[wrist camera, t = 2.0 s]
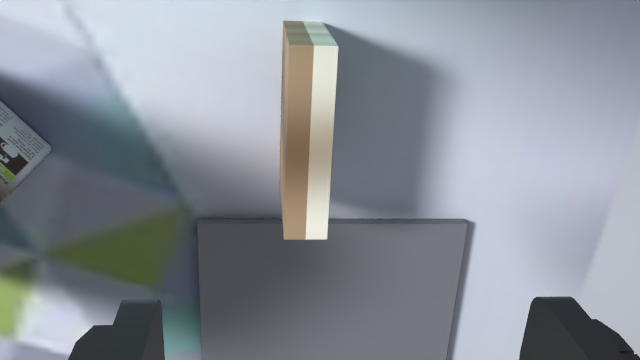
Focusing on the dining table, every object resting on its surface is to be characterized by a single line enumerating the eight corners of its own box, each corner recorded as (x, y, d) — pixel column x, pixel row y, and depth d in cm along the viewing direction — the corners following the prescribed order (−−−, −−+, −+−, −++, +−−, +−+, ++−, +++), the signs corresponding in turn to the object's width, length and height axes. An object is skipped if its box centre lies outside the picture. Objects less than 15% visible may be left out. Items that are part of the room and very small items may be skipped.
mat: (198, 218, 31) (197, 224, 30) (464, 219, 32) (467, 224, 31) (206, 452, 37) (205, 460, 36) (428, 443, 38) (431, 451, 38)
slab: (283, 20, 27) (289, 44, 22) (322, 22, 27) (338, 46, 22) (279, 182, 30) (284, 239, 25) (314, 182, 30) (326, 239, 25)
